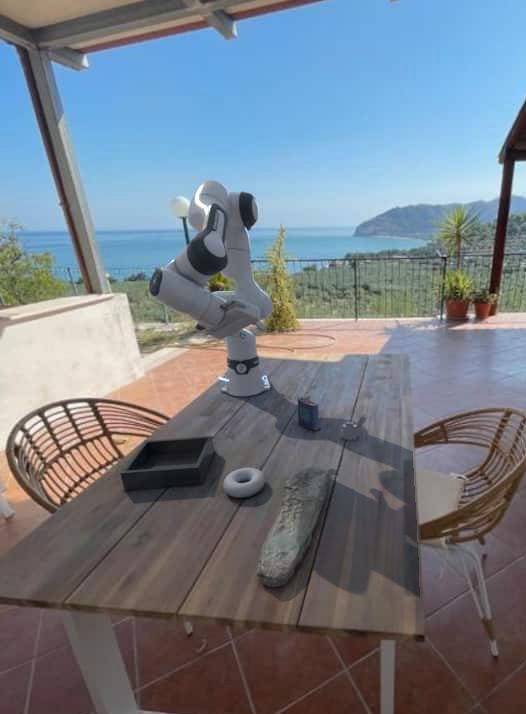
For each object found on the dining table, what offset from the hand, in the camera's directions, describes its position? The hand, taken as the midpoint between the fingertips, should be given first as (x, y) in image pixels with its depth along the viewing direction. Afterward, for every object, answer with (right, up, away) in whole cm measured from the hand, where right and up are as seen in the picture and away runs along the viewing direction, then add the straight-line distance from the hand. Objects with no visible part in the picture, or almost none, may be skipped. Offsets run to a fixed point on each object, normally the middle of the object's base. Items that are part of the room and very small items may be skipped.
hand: (254, 332), depth 116 cm
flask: (+15, -29, +10) cm, 34 cm away
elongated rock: (+18, -45, -31) cm, 58 cm away
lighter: (+30, -32, +3) cm, 44 cm away
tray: (-18, -38, -13) cm, 44 cm away
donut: (+3, -41, -20) cm, 46 cm away
